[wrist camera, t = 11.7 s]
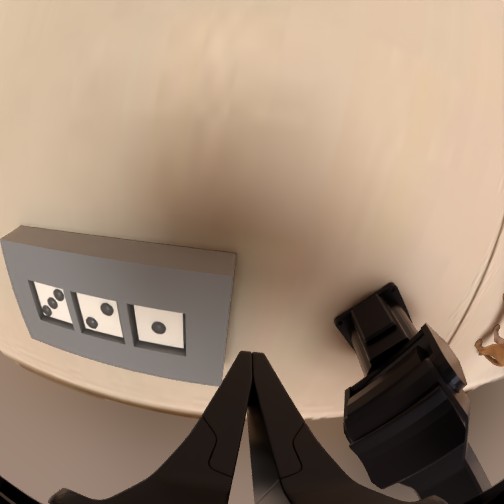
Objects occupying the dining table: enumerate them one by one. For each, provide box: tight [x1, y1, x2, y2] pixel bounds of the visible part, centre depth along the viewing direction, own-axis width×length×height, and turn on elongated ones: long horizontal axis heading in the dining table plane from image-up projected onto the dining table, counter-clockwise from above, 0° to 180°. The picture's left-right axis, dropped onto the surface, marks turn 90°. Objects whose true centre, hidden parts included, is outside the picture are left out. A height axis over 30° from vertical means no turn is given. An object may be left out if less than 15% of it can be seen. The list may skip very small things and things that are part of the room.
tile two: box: [77, 293, 124, 337], centre depth 21 cm, size 4×4×2 cm
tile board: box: [0, 226, 236, 386], centre depth 21 cm, size 22×12×3 cm, turn 82°
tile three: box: [34, 282, 72, 323], centre depth 21 cm, size 4×4×2 cm
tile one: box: [134, 305, 186, 348], centre depth 21 cm, size 4×4×2 cm
